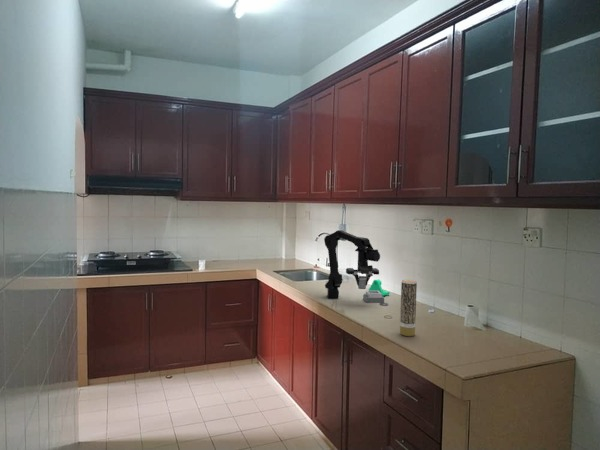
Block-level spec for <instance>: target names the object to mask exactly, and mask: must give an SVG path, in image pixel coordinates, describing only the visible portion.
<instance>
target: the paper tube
mask: <svg viewBox="0 0 600 450" xmlns="http://www.w3.org/2000/svg"><path fill="white" fill-rule="evenodd" d="M417 284H418V281H417V280H414V279H401V285H400V286H401V289H400V290H401V292H400V315H399V316H400V318H399V324H400V325H399V333H400V335H402V336H406V337H414V336H415V335H416V320H417V319H416V315H417V291H418V290H417V288H418V285H417Z"/></svg>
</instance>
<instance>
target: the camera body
mask: <svg viewBox="0 0 600 450" xmlns="http://www.w3.org/2000/svg"><path fill="white" fill-rule="evenodd" d="M362 299H363V301H364V302H365V303H366V304H368V303H371V304H373V303H375V304H377V303H378V304H380V303H385V297H384V296H382V293H380V292H379V291H369V290H365V293H363V295H362Z"/></svg>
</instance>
